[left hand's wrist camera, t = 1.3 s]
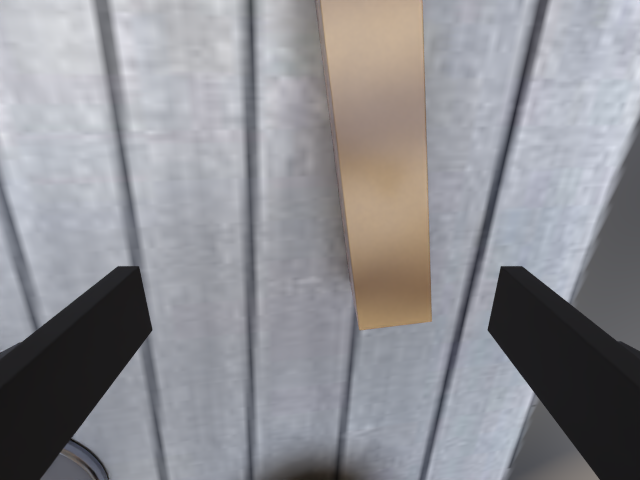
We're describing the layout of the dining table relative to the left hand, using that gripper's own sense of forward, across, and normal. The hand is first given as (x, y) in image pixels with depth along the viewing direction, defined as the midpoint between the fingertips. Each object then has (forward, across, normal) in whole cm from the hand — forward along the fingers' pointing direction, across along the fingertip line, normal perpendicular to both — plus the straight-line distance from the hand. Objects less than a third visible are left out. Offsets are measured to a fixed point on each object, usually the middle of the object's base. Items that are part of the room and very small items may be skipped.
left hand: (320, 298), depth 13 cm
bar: (+18, -4, -6) cm, 19 cm away
